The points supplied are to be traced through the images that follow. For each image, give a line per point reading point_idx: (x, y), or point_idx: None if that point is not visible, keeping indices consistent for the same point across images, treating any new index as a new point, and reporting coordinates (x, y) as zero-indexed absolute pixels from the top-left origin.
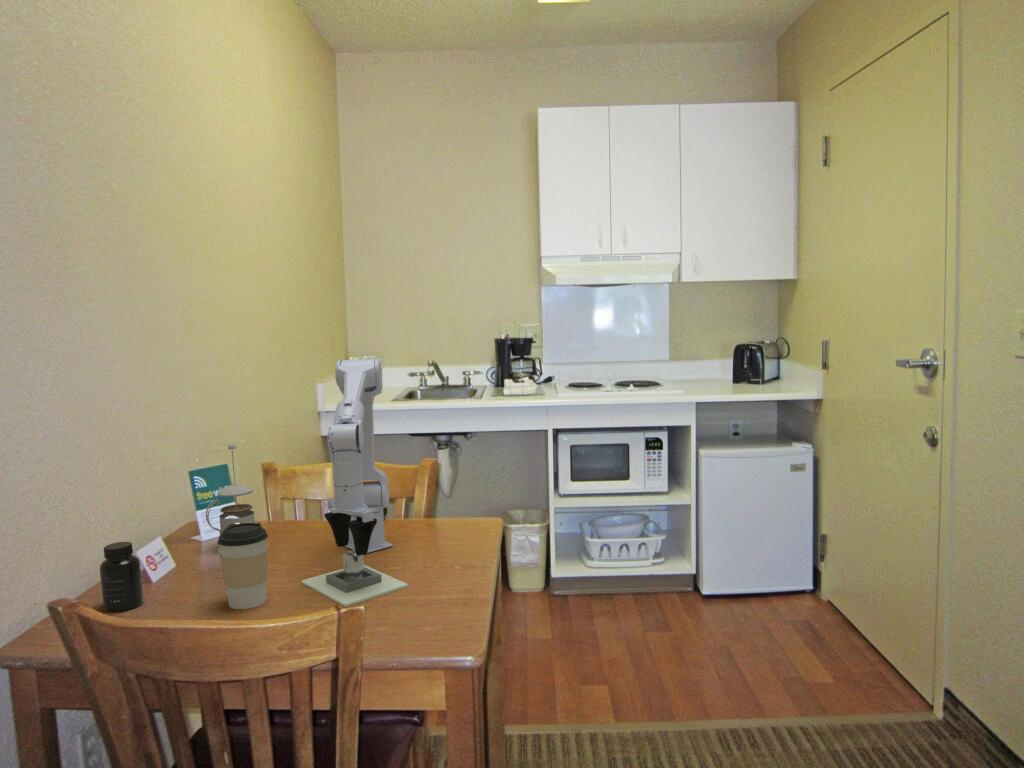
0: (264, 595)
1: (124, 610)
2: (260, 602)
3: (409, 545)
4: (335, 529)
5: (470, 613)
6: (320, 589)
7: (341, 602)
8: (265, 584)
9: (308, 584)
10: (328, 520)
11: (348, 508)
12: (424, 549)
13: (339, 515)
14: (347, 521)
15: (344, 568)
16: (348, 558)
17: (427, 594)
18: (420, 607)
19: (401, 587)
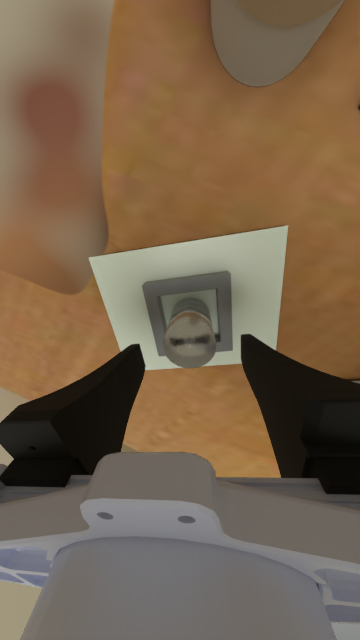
0: (230, 52)
1: None
2: (216, 42)
3: None
4: (266, 367)
5: (5, 379)
6: (198, 245)
7: (102, 255)
8: (243, 25)
9: (247, 232)
10: (326, 382)
11: (53, 564)
12: (258, 440)
13: (294, 446)
14: (271, 430)
15: (187, 309)
16: (170, 326)
17: (87, 373)
18: (44, 347)
19: None
